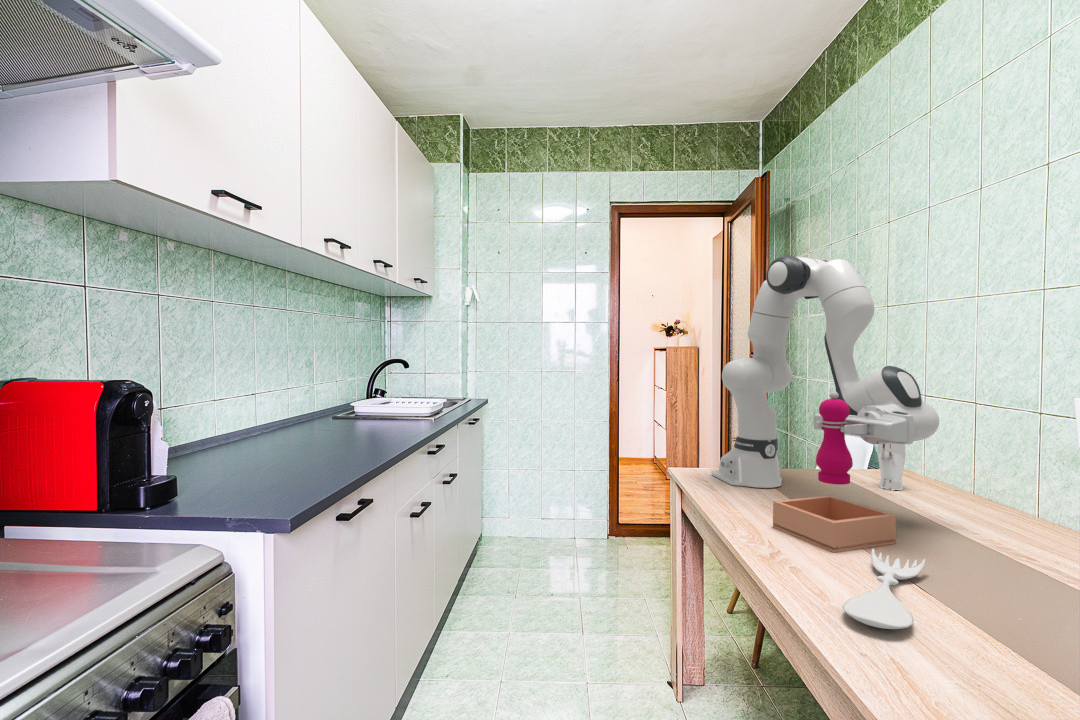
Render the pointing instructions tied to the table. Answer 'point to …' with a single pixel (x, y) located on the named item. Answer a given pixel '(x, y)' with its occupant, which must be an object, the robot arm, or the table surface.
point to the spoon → (884, 596)
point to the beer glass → (891, 465)
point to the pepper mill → (834, 443)
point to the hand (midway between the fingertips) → (830, 427)
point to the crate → (834, 523)
